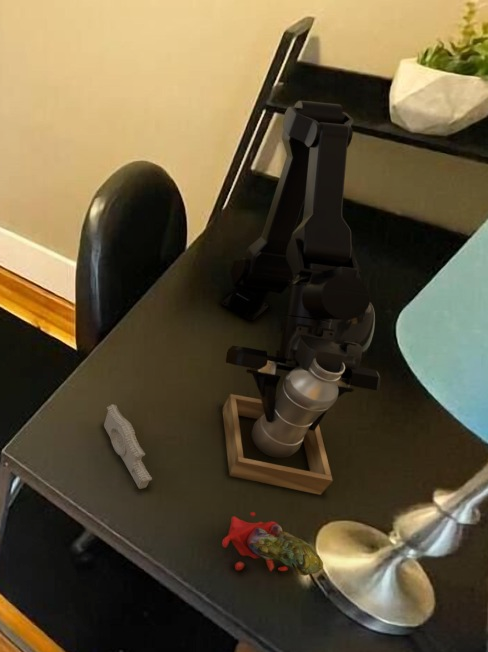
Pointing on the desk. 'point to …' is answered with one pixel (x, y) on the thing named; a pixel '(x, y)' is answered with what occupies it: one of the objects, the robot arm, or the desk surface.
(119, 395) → the desk surface
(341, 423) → the desk surface
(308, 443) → the square wooden frame
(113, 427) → the garden wall model
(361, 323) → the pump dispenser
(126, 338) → the desk surface
